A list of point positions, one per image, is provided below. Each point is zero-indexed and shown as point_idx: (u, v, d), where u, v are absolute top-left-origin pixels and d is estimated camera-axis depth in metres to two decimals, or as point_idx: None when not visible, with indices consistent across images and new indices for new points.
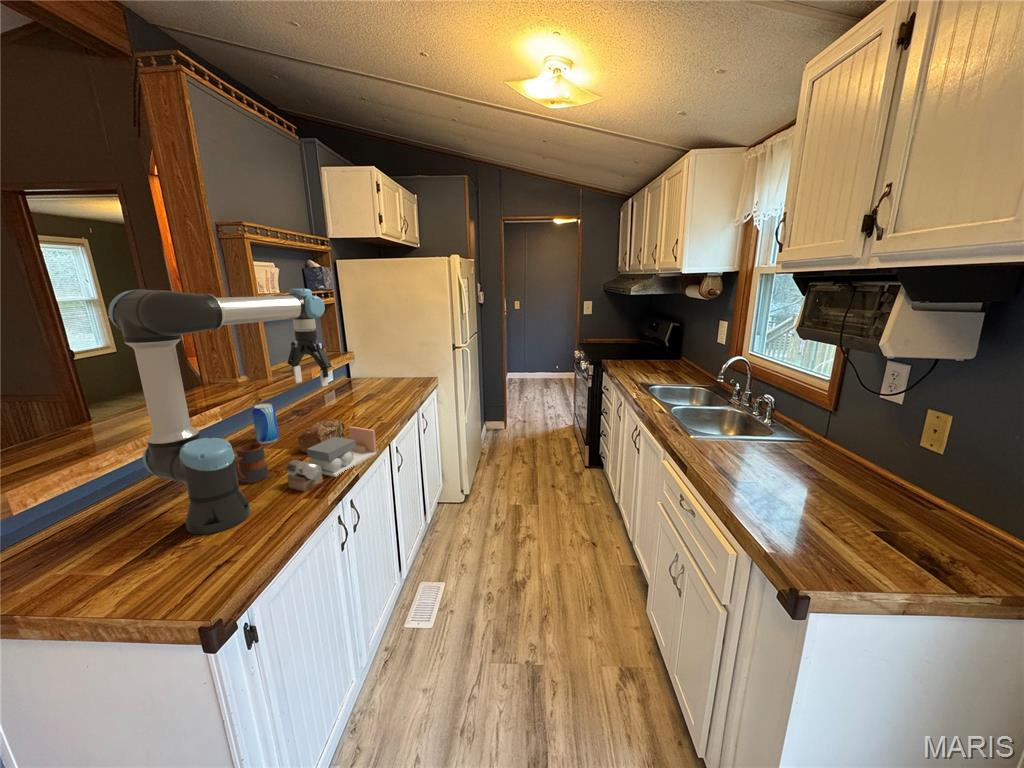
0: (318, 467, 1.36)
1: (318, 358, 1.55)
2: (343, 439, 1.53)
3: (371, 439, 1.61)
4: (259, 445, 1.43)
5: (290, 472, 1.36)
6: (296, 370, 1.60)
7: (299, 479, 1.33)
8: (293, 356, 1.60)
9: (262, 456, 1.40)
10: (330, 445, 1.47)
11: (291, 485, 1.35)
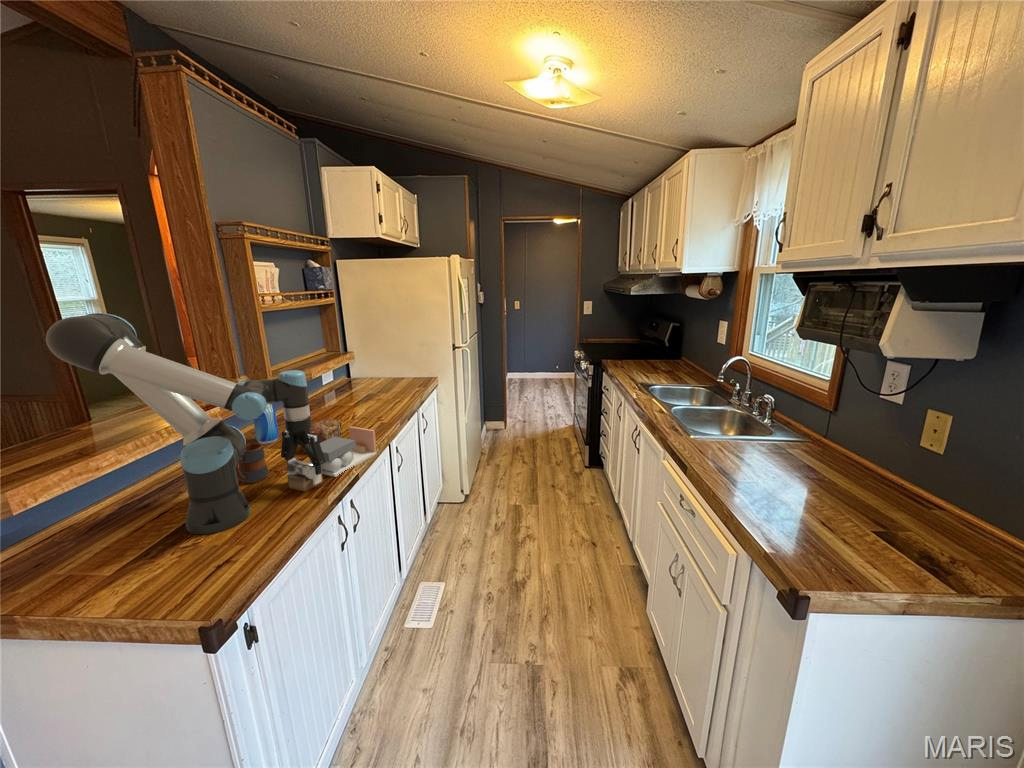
0: None
1: (311, 452, 1.33)
2: (343, 439, 1.53)
3: (371, 439, 1.61)
4: (259, 445, 1.43)
5: (290, 472, 1.36)
6: None
7: (299, 479, 1.33)
8: (286, 447, 1.37)
9: (262, 456, 1.40)
10: (330, 445, 1.47)
11: (291, 485, 1.35)
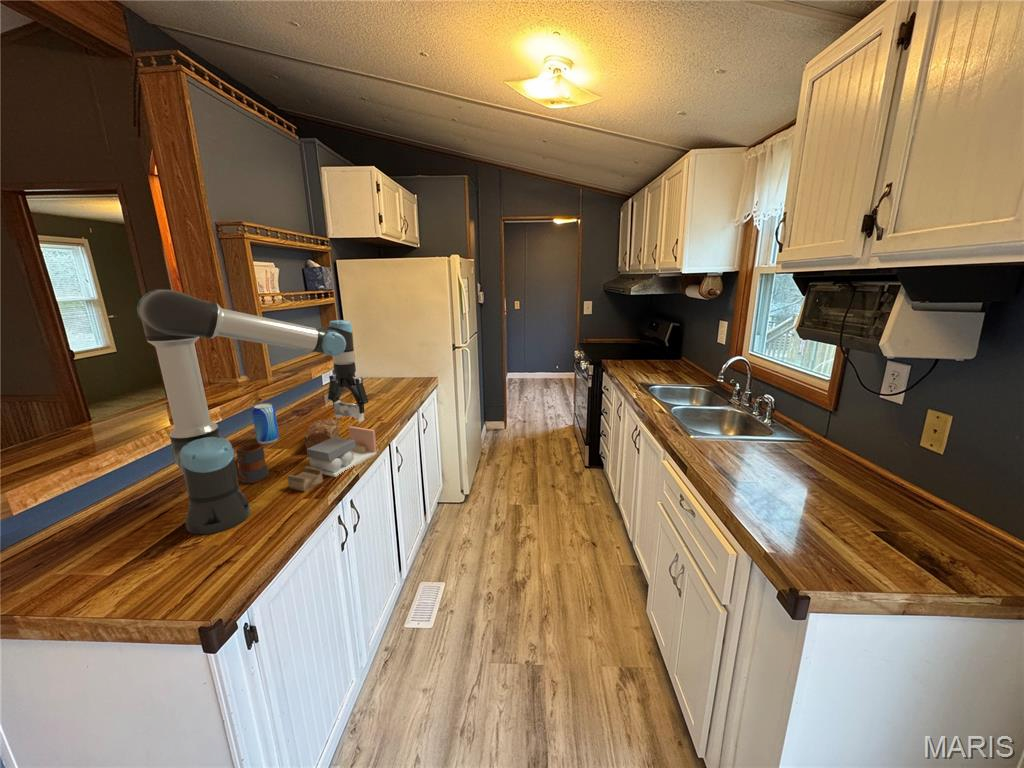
0: None
1: (356, 393, 1.51)
2: (343, 439, 1.53)
3: (371, 439, 1.61)
4: (259, 445, 1.43)
5: (336, 411, 1.54)
6: None
7: (299, 479, 1.33)
8: (333, 390, 1.55)
9: (262, 456, 1.40)
10: (330, 445, 1.47)
11: (291, 485, 1.35)
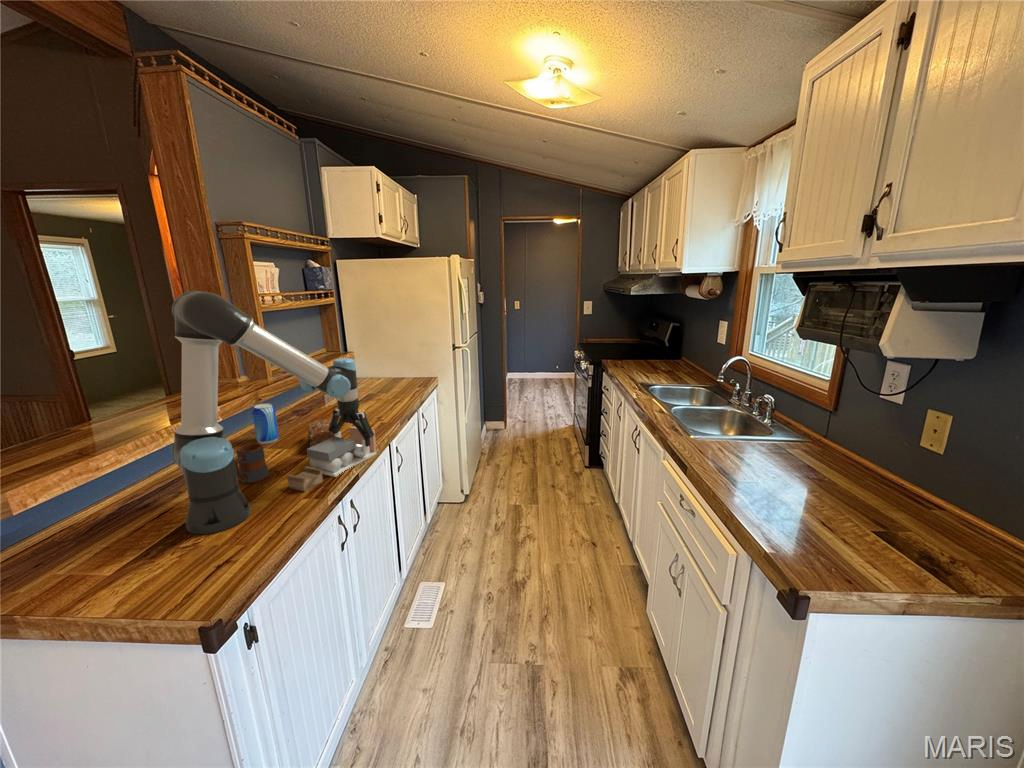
0: None
1: (360, 427, 1.54)
2: (343, 439, 1.53)
3: (371, 439, 1.61)
4: (259, 445, 1.43)
5: None
6: None
7: (299, 479, 1.33)
8: (334, 423, 1.59)
9: (262, 456, 1.40)
10: (330, 445, 1.47)
11: (291, 485, 1.35)
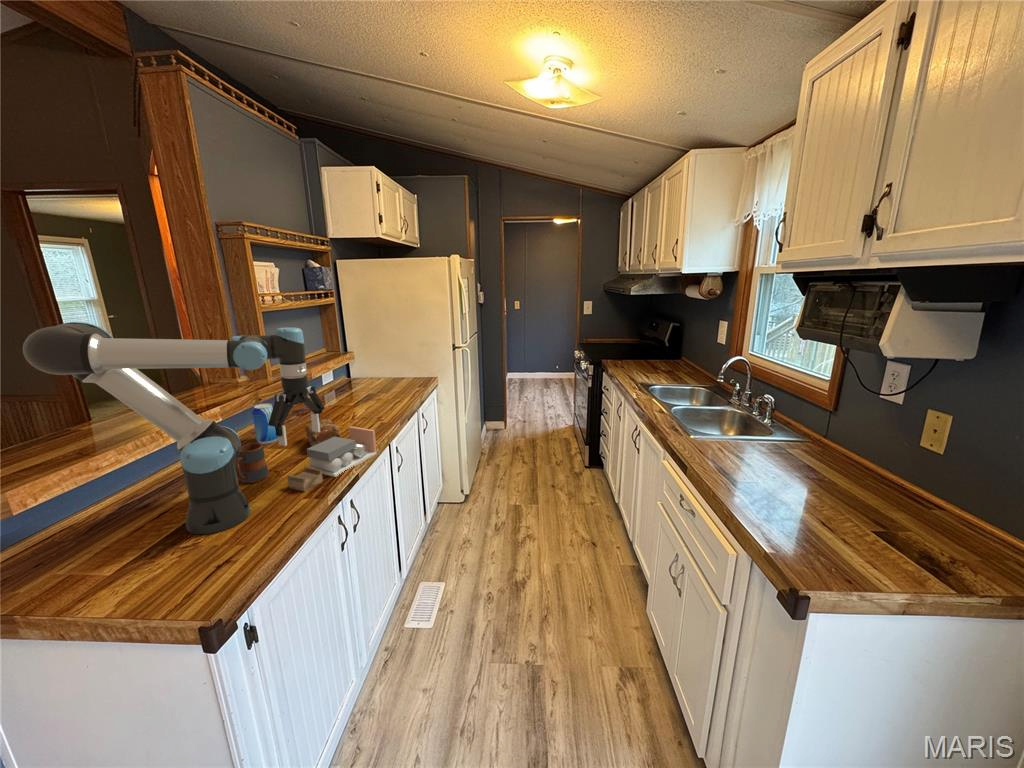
0: (365, 446, 1.58)
1: (281, 411, 1.28)
2: (343, 439, 1.53)
3: (371, 439, 1.61)
4: (259, 445, 1.43)
5: None
6: (312, 417, 1.41)
7: (299, 479, 1.33)
8: (314, 402, 1.40)
9: (262, 456, 1.40)
10: (330, 445, 1.47)
11: (291, 485, 1.35)
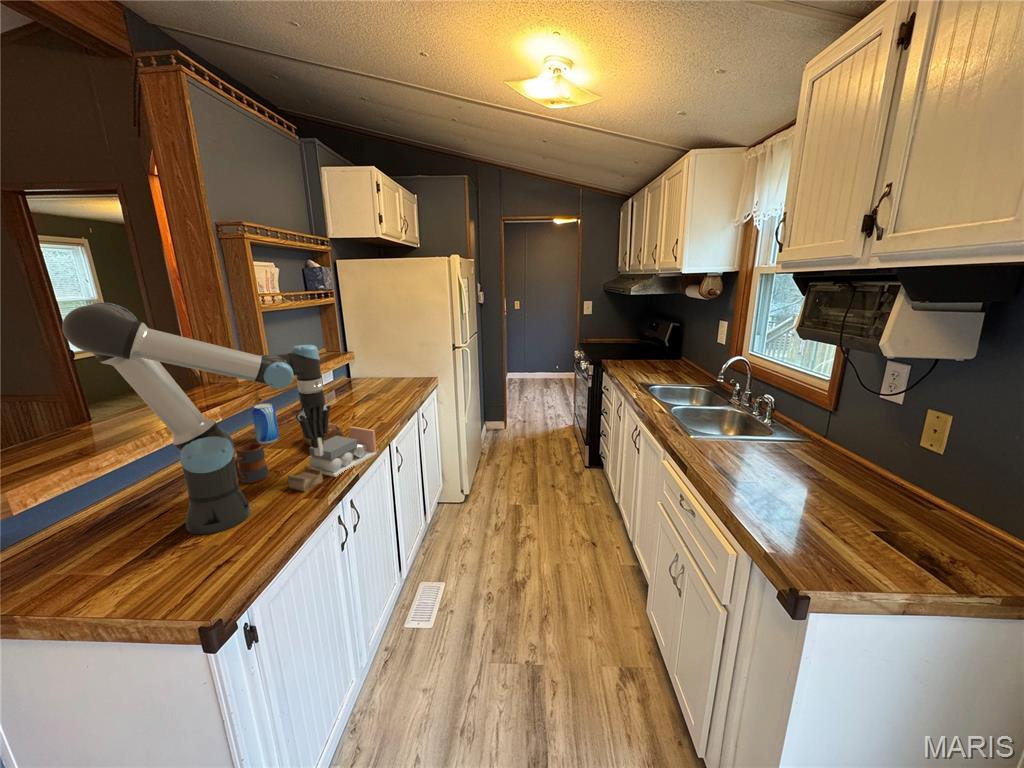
0: (364, 446, 1.58)
1: (309, 426, 1.39)
2: (345, 438, 1.54)
3: (371, 439, 1.61)
4: (259, 445, 1.43)
5: None
6: None
7: (299, 479, 1.33)
8: (322, 422, 1.43)
9: (262, 456, 1.40)
10: (332, 444, 1.48)
11: (291, 485, 1.35)
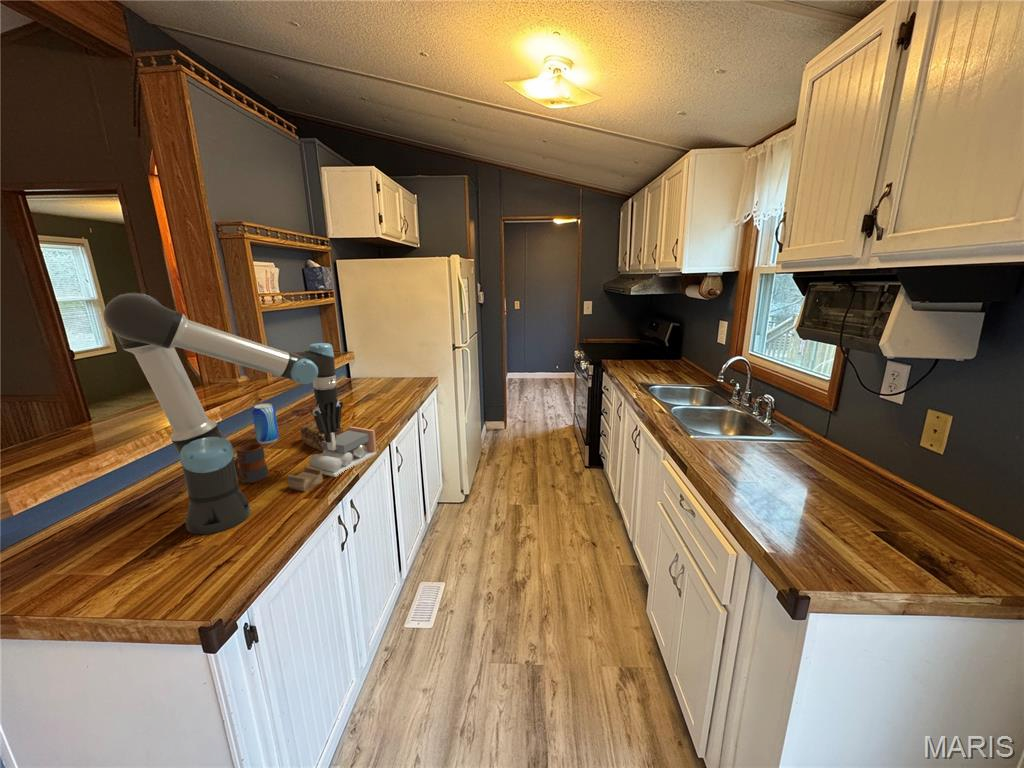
0: (364, 446, 1.58)
1: (323, 421, 1.45)
2: (357, 433, 1.60)
3: (371, 439, 1.61)
4: (259, 445, 1.43)
5: None
6: None
7: (299, 479, 1.33)
8: (335, 417, 1.49)
9: (262, 456, 1.40)
10: (344, 438, 1.54)
11: (291, 485, 1.35)
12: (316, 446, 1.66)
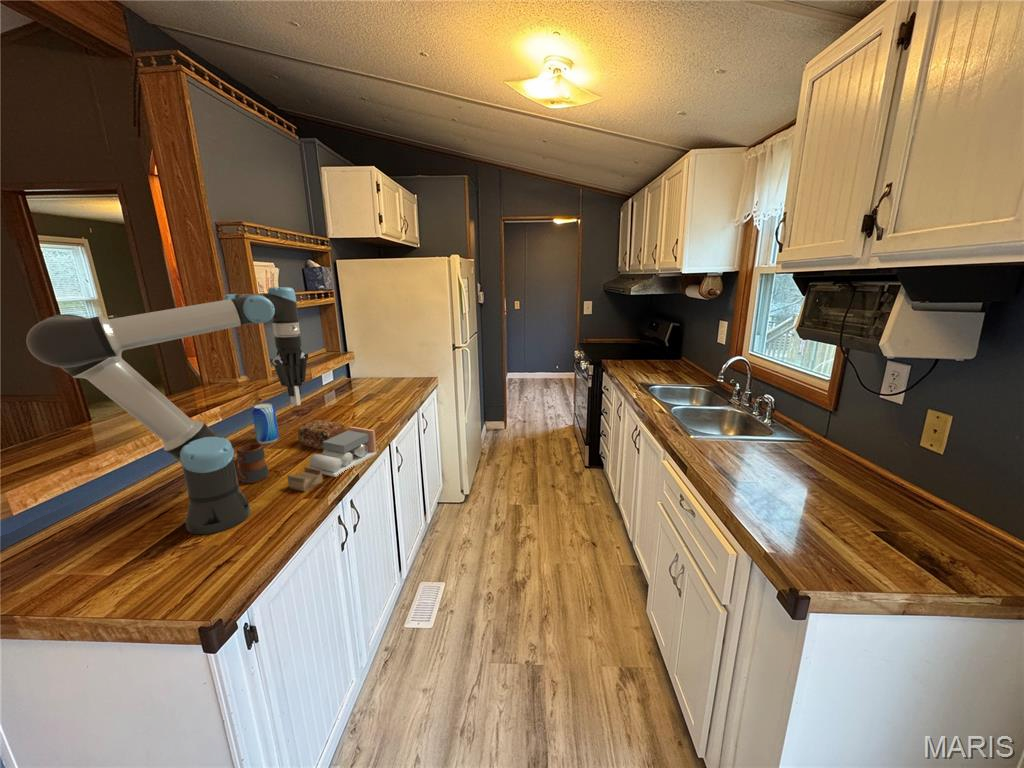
0: (366, 446, 1.58)
1: (286, 373, 1.34)
2: (357, 433, 1.60)
3: (371, 439, 1.61)
4: (259, 445, 1.43)
5: None
6: None
7: (299, 479, 1.33)
8: (299, 370, 1.39)
9: (262, 456, 1.40)
10: (344, 438, 1.54)
11: (291, 485, 1.35)
12: (319, 446, 1.67)
